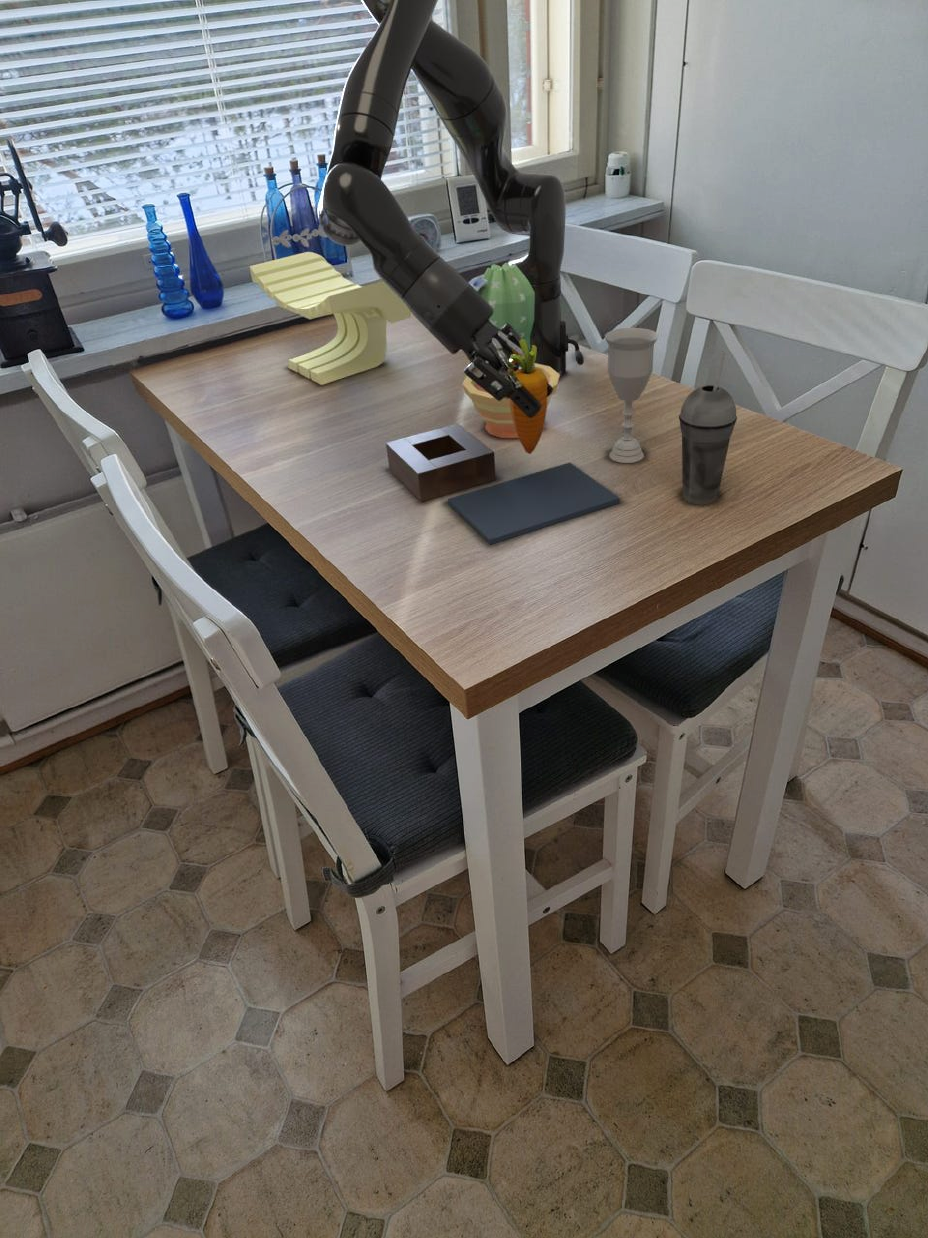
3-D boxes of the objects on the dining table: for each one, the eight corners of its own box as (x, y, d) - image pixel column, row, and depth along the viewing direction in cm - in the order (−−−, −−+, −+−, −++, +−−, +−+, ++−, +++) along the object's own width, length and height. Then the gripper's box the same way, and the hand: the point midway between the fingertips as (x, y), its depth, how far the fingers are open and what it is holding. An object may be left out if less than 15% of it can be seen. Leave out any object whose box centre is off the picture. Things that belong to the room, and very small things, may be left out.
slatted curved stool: (417, 372, 166) (406, 274, 155) (344, 396, 159) (328, 296, 148) (336, 336, 186) (321, 248, 175) (268, 357, 179) (249, 266, 168)
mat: (569, 467, 130) (569, 462, 130) (619, 502, 121) (619, 497, 120) (447, 503, 124) (447, 498, 124) (490, 544, 114) (489, 539, 114)
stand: (460, 450, 138) (458, 423, 135) (496, 480, 129) (494, 451, 126) (389, 470, 134) (385, 442, 131) (421, 502, 125) (417, 473, 122)
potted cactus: (489, 402, 152) (480, 250, 137) (574, 412, 146) (574, 254, 131) (449, 439, 141) (434, 278, 126) (539, 452, 135) (534, 284, 120)
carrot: (545, 462, 115) (544, 349, 107) (508, 461, 116) (503, 349, 108) (550, 445, 119) (549, 335, 110) (514, 444, 120) (510, 335, 111)
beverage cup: (666, 486, 123) (676, 345, 111) (717, 481, 123) (733, 340, 112) (681, 512, 117) (693, 366, 106) (735, 506, 118) (753, 360, 106)
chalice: (655, 447, 133) (662, 328, 123) (647, 467, 128) (654, 345, 118) (607, 443, 136) (610, 326, 125) (597, 463, 131) (599, 343, 120)
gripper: (446, 302, 102) (548, 408, 105) (484, 268, 113) (576, 365, 116) (408, 345, 107) (507, 445, 110) (448, 308, 117) (537, 400, 121)
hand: (542, 403), depth 113 cm, fingers closed on carrot, 5 cm apart
